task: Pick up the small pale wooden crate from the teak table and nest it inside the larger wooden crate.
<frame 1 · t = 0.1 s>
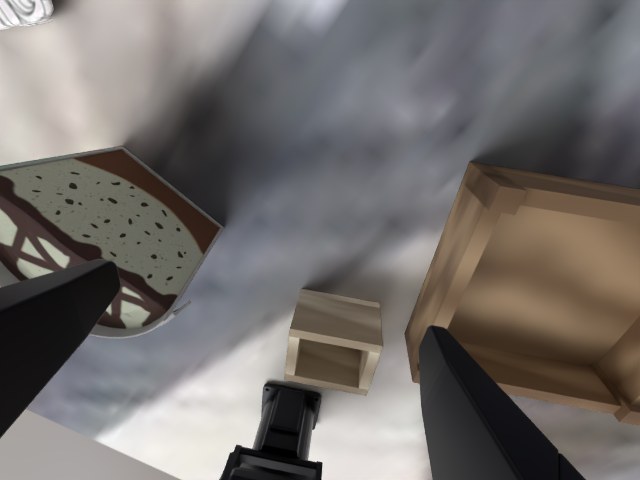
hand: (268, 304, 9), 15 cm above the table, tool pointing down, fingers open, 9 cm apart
crate: (540, 281, 23), on the table
pale crate: (335, 319, 28), on the table
food container: (159, 213, 25), on the table
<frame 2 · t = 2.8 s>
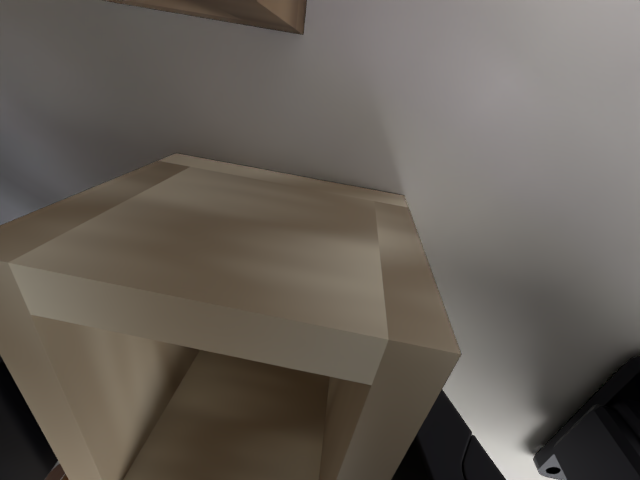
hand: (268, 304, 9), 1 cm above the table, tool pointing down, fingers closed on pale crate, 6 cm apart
pale crate: (277, 281, 9), on the table, touching gripper
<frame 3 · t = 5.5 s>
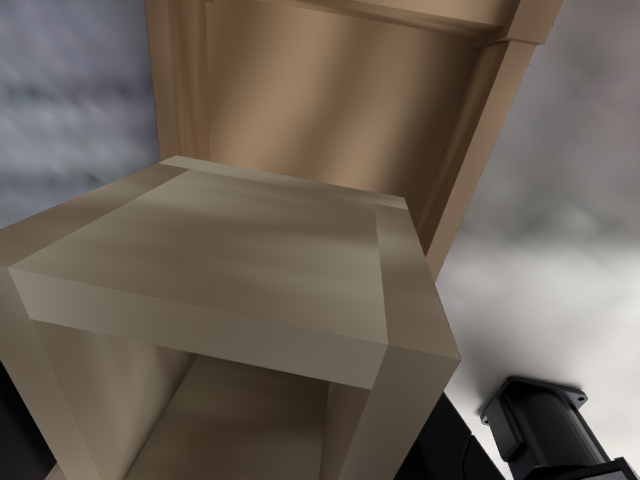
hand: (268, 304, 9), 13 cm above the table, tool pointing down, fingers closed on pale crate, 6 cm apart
crate: (320, 160, 19), on the table
pale crate: (277, 283, 9), point 12 cm above the table, touching gripper
when the fingers open (3 cm above the table, at t = 8.3 s): pale crate drops 2 cm, resting on crate.
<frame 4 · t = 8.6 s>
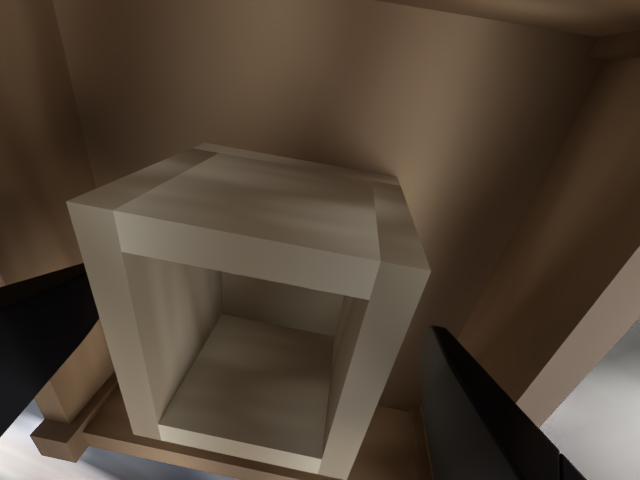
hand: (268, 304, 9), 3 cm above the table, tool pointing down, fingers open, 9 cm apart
crate: (292, 243, 12), on the table
pale crate: (289, 255, 11), point 1 cm above the table, touching crate
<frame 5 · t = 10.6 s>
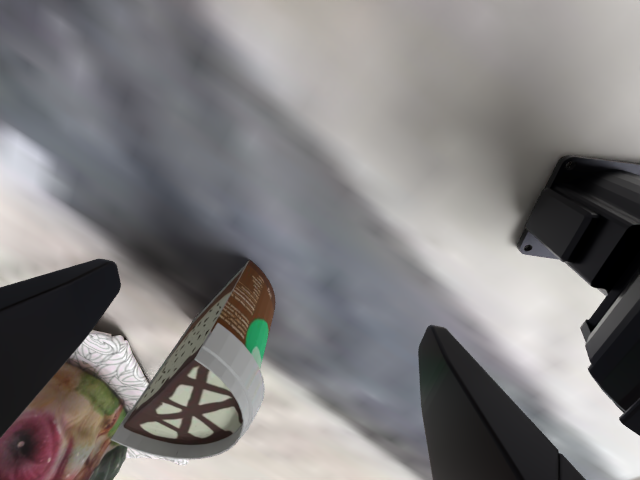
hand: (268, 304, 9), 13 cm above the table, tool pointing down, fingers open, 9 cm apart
food container: (248, 311, 26), on the table
cookie jar: (73, 391, 36), on the table
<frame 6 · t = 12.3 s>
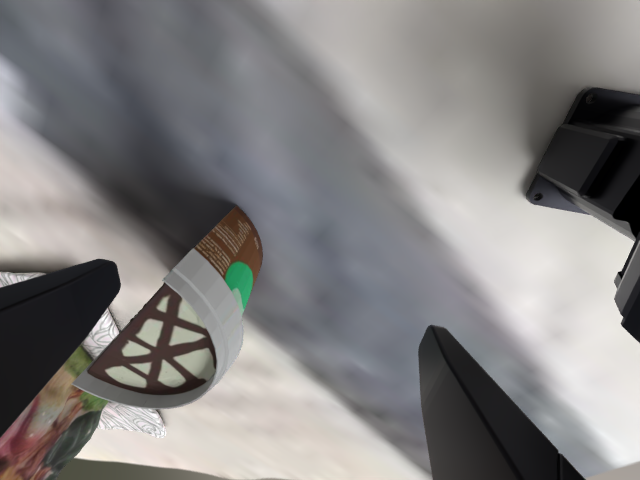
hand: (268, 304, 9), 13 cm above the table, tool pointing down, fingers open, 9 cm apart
food container: (234, 266, 25), on the table
cookie jar: (46, 354, 34), on the table
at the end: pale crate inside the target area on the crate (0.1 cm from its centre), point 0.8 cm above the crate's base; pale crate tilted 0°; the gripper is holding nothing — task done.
